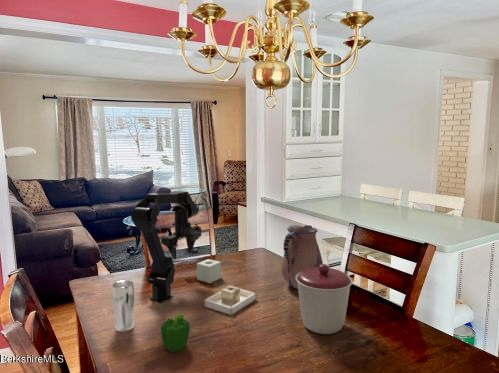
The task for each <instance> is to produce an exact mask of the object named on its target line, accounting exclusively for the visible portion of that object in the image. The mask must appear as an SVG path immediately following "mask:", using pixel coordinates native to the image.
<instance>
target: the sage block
mask: <svg viewBox="0 0 499 373" xmlns="http://www.w3.org/2000/svg"><path fill="white" fill-rule="evenodd" d="M196 277H197V278H196V280H197V281H201V282H204V283H208V284H211V283H214V282H215V281H217V280H220V279H221V278H222V262H221V261H218V260H213V259H210V258H206V259H205V260H202V261H200V262H198V263H196Z"/></svg>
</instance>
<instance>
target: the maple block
mask: <svg viewBox="0 0 499 373" xmlns="http://www.w3.org/2000/svg"><path fill="white" fill-rule="evenodd" d="M240 289H241V288H240V287H237V286H233V285H226V286H225V287H223V288H221V290H220V291H221V301H222V303H225V304H228V305H231V306H232V305H234V304H236V303H237V302H239V301H240Z"/></svg>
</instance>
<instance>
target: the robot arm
mask: <svg viewBox="0 0 499 373" xmlns="http://www.w3.org/2000/svg"><path fill="white" fill-rule="evenodd" d="M161 204H171V205H174V207H173V208H171V212H172V213H173V212H174V216H173V217H174V222H173V223H172V226H173V227H174V231H173V232H172V235H164V236H162V237H161V239H160V237H159V234H158V232H157V228H156V226H157V223H158V216H159V214H160V213H161V206H160V205H161ZM150 205H154V206H153V207H149V206H150ZM199 212H200V209H199V207H198V205H197V204H196V203H195V200H193V199H192V196H191V195H190V193H189V191H184V190H183V191H182V190H181V191H180V190H178V191H177V190H174V191H170V192H169V193H160V192H158V193H157V192H156V193H155V192H149V193H148V194H146V196H145V197H144V198H143V199H142V200H141V201H139V202H138V203H137V204H136V205H135V207H134V208H133V210H132V211H131V214H130V218H131V221H132V222H133V224H134V226H135V227H136V228H137V229H138V230H139V231H141V233H142V235H143V238H144V241H145V244H146V246H147V249H148V252H149V254H150V257H151V260H152V261H151V264H150V265H151V266H150V272H149V275H148V277H147V280H146V281H147V284H148V285H151V290H152V291H151V293H152V295H151V296H150V297H149V300H151V301H154V302H157V303H159V304H162V303H163V302H166V301H168V300H170V299H172V298H173V297H174V295H172V294H171V284H173V283H174V280H175V273H176V268H175V263H174V262H173V260H176V259H177V247H178V246H179V244H178V242H179V241H181V240H183V239H185V241H186V246H187V250H188V254H189V255H190V254H192V252H193V250H194V249H193V248H194V246H195V244H196V241H197V240H198V239H200V237H202V227H201V226H199V225H198V226H195V227H193V226H192V224H191V222H189V219H191V218H192V217H193V218H194V217H195V216H197V215H198V214H199ZM162 245H163V246H166V248H167V250H168V251H169V253H170V255H171V256H166V254H165V252H164V248H163V246H162Z"/></svg>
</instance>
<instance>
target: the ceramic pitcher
mask: <svg viewBox="0 0 499 373" xmlns="http://www.w3.org/2000/svg"><path fill="white" fill-rule="evenodd" d="M286 230H287V231H288V233H287V234H286V235H285V238H284V240H283V245H282V246H283V255H282V259H281V265H280V271H281V276H282V278H283V279H284V281H285V282H286V283H287V284H288V285H289V286H290V287H291V288H294V289H297V290H298V283H297V281H296V279H295V277H296V275H297V274H298V273H300V272H302V271H303V270H306V269H309V268H316V267H319V265H321V264H324V263H323V258H322V254H321V250H320V247H319V243H318V241H317V238H316V237H317V235H316V234H317V232H318V231H319V230H318V229H317V228H316V227H313V226H312V225H307V224H306V225H304V226H301V225H297V224H293V225H289V226H287V228H286Z"/></svg>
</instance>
